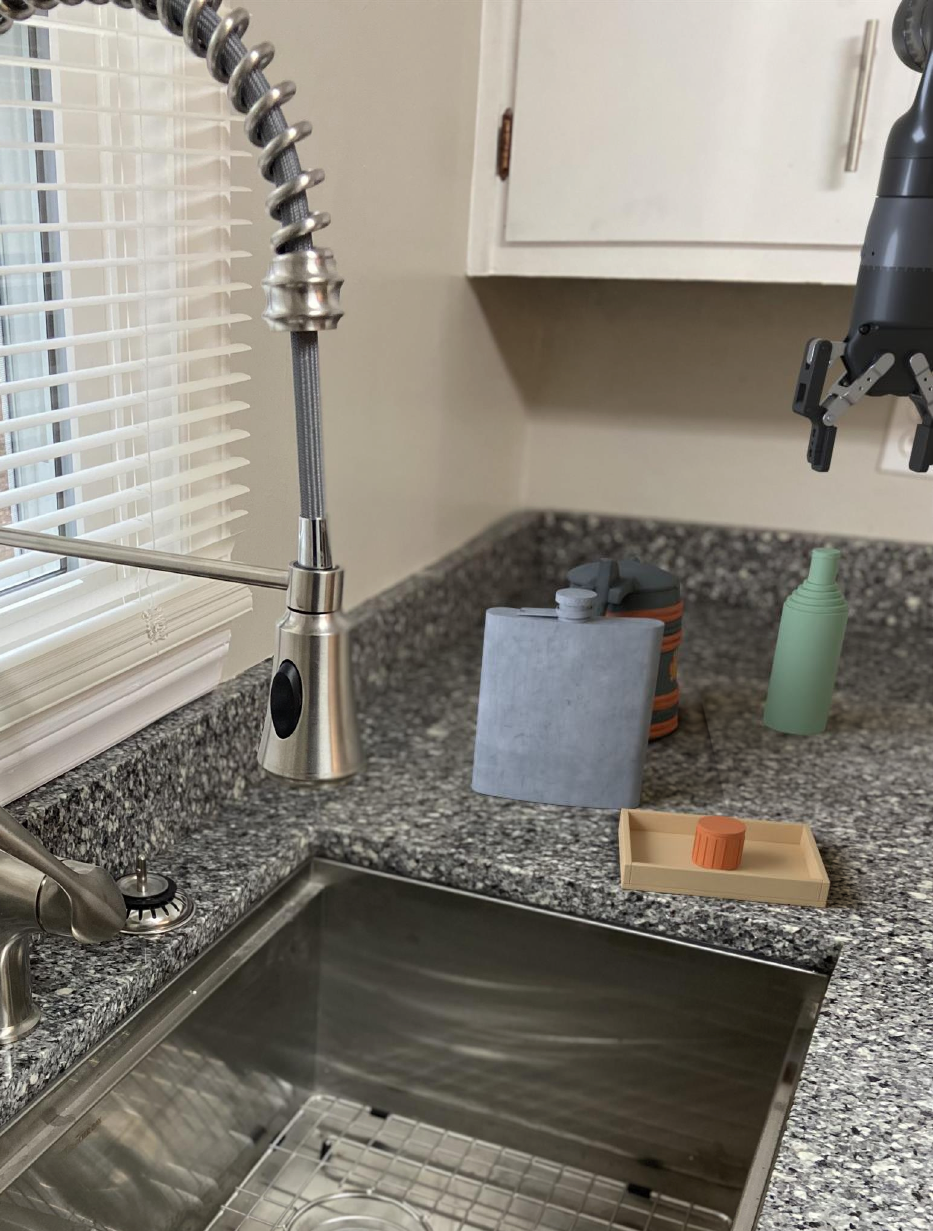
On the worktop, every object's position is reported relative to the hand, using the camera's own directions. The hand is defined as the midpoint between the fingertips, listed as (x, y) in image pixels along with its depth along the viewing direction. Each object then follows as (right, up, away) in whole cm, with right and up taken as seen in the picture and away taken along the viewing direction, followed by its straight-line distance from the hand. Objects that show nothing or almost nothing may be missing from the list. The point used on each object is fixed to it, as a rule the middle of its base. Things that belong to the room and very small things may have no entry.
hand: (868, 471), depth 119 cm
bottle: (+6, -18, +33) cm, 38 cm away
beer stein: (-14, -18, +34) cm, 41 cm away
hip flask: (-23, -27, +16) cm, 39 cm away
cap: (-12, -33, +2) cm, 35 cm away
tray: (-12, -34, +2) cm, 36 cm away
